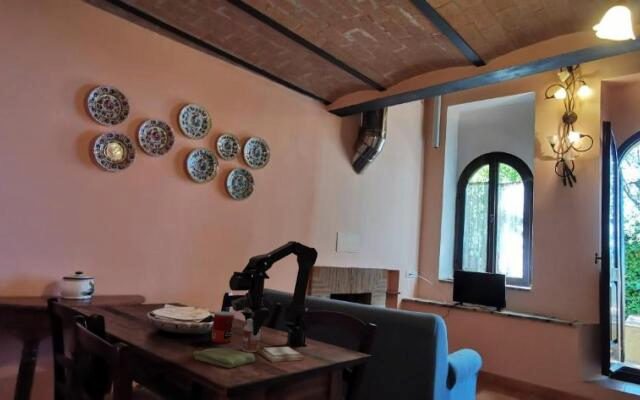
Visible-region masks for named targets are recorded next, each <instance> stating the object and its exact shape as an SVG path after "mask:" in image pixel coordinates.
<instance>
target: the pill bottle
mask: <svg viewBox="0 0 640 400" xmlns="http://www.w3.org/2000/svg"><path fill="white" fill-rule="evenodd" d="M246 323H247V325H246ZM260 336H261V329H260V330H259V332H258V334H257V335H256V336H254V335H253V320H252V319H247V321H245V325H244V327H243V332H242V343H241V350H242V352H245V353H256V352H259V350H260V349H259V348H260V339H261V337H260Z"/></svg>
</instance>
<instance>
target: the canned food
mask: <svg viewBox="0 0 640 400" xmlns="http://www.w3.org/2000/svg"><path fill="white" fill-rule="evenodd" d="M234 323H235V312H233V311H232V312H231V311H222V310H221V311H220V310H219V311H215V312H214V315H213V324H212V332H211V341H212V343H215V344H223V345H224V344H230V343H231V342H232V340H233V333H234V325H235V324H234Z"/></svg>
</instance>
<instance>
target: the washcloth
mask: <svg viewBox="0 0 640 400" xmlns="http://www.w3.org/2000/svg"><path fill="white" fill-rule="evenodd" d="M193 356H194V360H197V361H201V362H203V363H208V364H212V365H214V366H220V367H223V368H227V369H232V368H235V367H240V366H243V365H248V364H252V363H254V362H255V361H256V356H255V355H254V353H253V352H245V351H243V350H242V351H241V350H237V349H231V348H226V347H218V348H217V347H216V348H215V347H213V348H206V349H203V350H195V351H193Z"/></svg>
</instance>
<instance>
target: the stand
mask: <svg viewBox="0 0 640 400" xmlns="http://www.w3.org/2000/svg"><path fill="white" fill-rule="evenodd" d="M258 353H259V354H260V355H261V356H263V357H264V358H265V359H267V360H268V361H270V362H272V363H274V362H275V363H276V362H289V361H292V362H293V361H304V359H305V356H304V355H303V354H301V352H299V351H297V350H295V349H293V348H291V347H290V346H279V347H277V346H275V347H262V349H258Z"/></svg>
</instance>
